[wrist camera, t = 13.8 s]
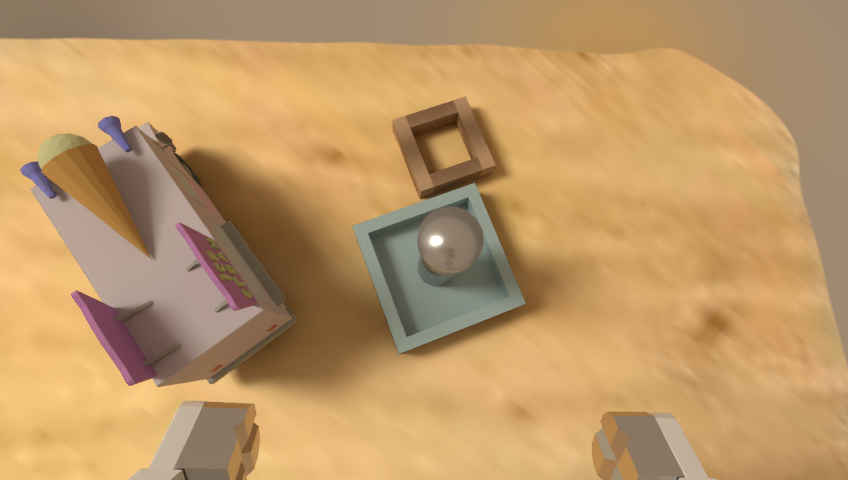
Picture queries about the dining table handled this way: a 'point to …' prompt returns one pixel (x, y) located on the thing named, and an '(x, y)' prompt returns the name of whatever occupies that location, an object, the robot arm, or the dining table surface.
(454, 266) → the pin
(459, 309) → the tray
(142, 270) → the toy vehicle
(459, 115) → the collar
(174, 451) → the robot arm
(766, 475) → the dining table surface
